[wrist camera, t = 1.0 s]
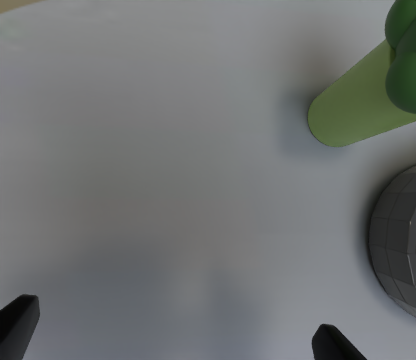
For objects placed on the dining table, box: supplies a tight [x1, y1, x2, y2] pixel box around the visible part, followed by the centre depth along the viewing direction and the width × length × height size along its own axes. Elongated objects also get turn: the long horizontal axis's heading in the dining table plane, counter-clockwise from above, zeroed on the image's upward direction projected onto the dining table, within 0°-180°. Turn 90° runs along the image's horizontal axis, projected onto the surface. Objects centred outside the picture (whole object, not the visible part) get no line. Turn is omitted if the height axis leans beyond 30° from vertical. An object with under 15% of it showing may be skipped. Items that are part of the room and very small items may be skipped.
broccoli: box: [308, 0, 416, 147], centre depth 16 cm, size 7×7×14 cm
